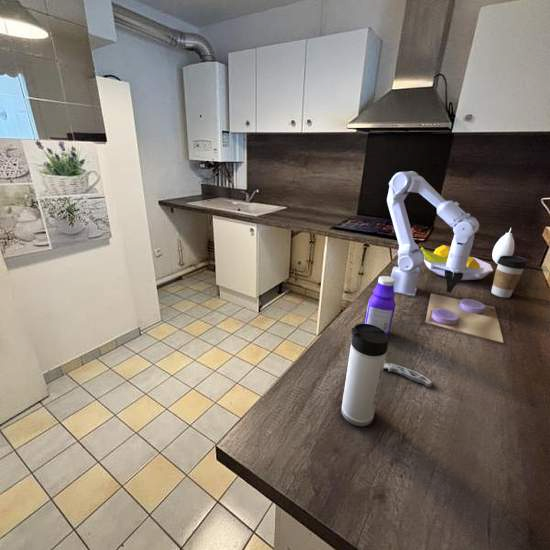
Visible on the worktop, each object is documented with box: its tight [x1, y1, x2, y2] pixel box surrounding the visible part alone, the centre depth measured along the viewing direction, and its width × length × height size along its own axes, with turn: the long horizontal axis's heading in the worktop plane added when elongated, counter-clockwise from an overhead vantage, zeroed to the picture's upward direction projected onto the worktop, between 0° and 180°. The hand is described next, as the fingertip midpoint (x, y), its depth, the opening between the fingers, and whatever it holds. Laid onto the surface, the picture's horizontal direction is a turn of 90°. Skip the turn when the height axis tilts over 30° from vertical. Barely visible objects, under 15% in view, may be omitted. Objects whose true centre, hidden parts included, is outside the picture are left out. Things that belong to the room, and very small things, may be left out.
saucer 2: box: [459, 298, 486, 314], centre depth 99 cm, size 7×7×2 cm
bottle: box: [364, 275, 397, 336], centre depth 82 cm, size 7×6×17 cm
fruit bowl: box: [420, 244, 494, 281], centre depth 127 cm, size 28×27×11 cm
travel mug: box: [340, 323, 390, 427], centre depth 55 cm, size 6×7×20 cm
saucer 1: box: [431, 308, 458, 325], centre depth 92 cm, size 7×7×2 cm
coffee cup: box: [490, 255, 528, 299], centre depth 108 cm, size 8×8×15 cm
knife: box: [383, 360, 433, 388], centre depth 70 cm, size 2×18×3 cm
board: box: [424, 292, 505, 344], centre depth 96 cm, size 20×24×1 cm
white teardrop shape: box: [491, 227, 515, 265], centre depth 138 cm, size 8×8×18 cm
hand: (448, 291), depth 101 cm, fingers closed
